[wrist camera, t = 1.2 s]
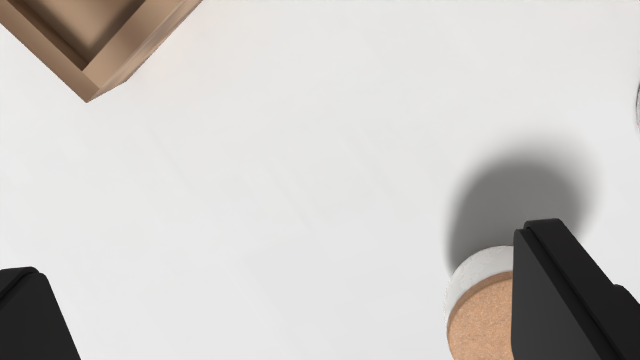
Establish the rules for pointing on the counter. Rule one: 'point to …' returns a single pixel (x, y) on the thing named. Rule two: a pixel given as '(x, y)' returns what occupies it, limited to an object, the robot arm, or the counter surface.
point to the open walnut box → (93, 36)
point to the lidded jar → (481, 306)
